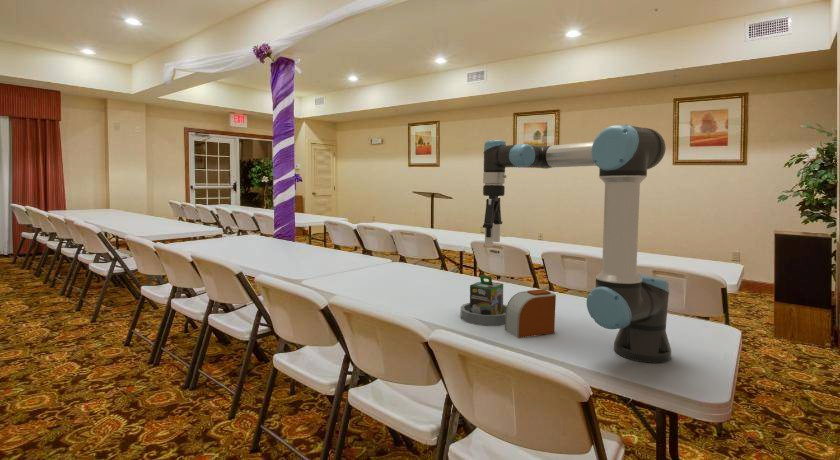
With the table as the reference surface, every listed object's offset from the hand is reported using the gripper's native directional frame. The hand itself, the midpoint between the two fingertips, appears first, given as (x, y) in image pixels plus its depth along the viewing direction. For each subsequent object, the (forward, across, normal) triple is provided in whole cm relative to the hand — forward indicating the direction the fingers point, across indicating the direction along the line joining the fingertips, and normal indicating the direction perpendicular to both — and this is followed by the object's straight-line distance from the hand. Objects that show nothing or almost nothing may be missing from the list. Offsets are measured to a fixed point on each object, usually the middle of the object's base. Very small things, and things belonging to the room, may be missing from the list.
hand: (492, 244), depth 166 cm
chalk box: (+26, -1, +2) cm, 26 cm away
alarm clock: (+27, -10, -15) cm, 33 cm away
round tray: (+27, -1, +2) cm, 27 cm away
